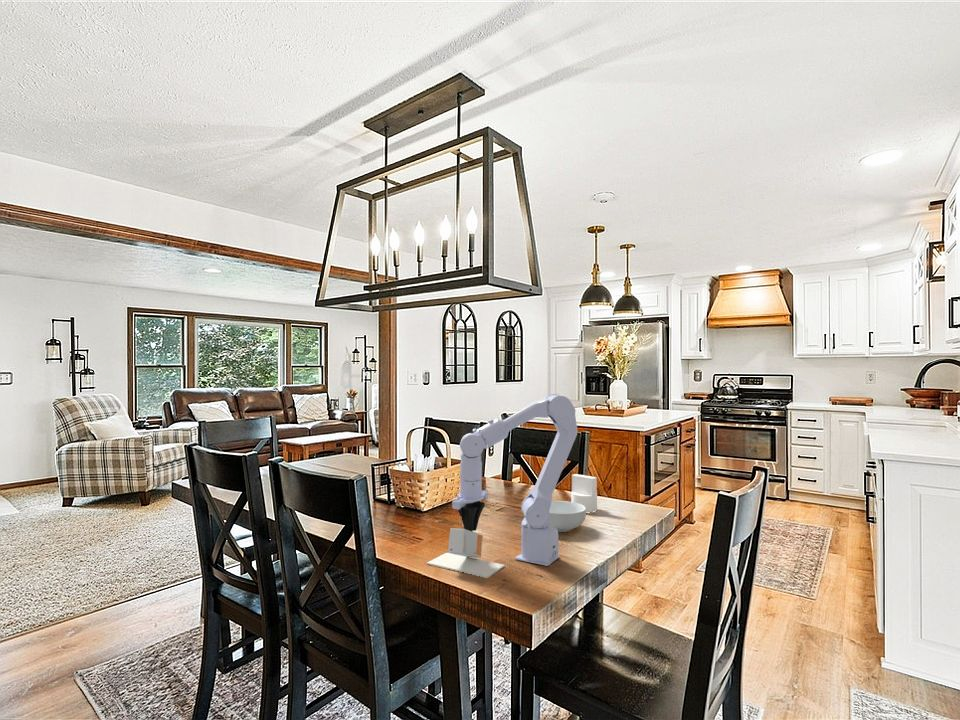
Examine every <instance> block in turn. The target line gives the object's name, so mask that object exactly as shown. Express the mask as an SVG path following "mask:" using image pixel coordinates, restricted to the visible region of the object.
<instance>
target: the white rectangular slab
mask: <svg viewBox="0 0 960 720" xmlns="http://www.w3.org/2000/svg"><path fill="white" fill-rule="evenodd" d="M426 564H427V565H429V566H432V567H437V568H442V569H445V570H449V569H450V571H453V570H455V571H454V572H458V571H459V572H458V573H462V572H464V573H463V574H466V573H467V574H468V575H470V574H472V575H471V576H475V575H476V576H475V577H479V576H480V578H484V579H488V578H490V577H491V576H493V575H494V574H496V573H497V572H499V571H500V570H502V569H504V568H505V565H506V564H501V563H498V562H497V563H496V562H493V561H488V560H484V559H483V560H482V559H479V558H474V557H465V556H460V555H455V554H451V553H448V552H445V553H444V554H441V555H440V556H439V555H438V557H435V558H433V559H431V560H429V561H428V562H426ZM467 574H466V575H467Z"/></svg>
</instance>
